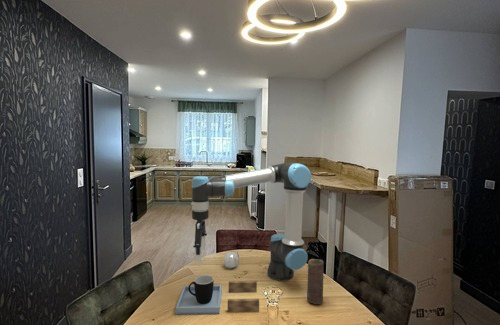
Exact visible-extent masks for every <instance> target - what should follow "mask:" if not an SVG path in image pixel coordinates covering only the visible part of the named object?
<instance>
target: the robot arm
mask: <svg viewBox="0 0 500 325" xmlns="http://www.w3.org/2000/svg"><path fill="white" fill-rule="evenodd" d="M311 181H312V175H311V171H310V169H309V167H307V166H306V165H304V164H302V163H297V162H290V161H289V162H282V163H278V164H274V165H269V166H268V167H267V168H262V169H261V168H260V169H257V170H250V171H245V172H238V173H233V174H232V173H231V174H226V175H220V176H211V177H208V176H205V175H204V176H203V175H202V176H201V175H199V176H198V175H197V176H193V177H192V179H191V202H190V205H191V209H192V211H191V219H192V220H194V221H196V222H195V224H194V225H195V227H194V228H195V230H194V231H195V232H194V245H193V246H192V247H193V248H194V261H195V262H196V263H197V262H202V257H203V255H202V254H203V252H202V251H203V250H206V236H208V233H207V231H206V221H205V220H208V218H209V198H211V197H229V196H233V195H234V194H235V189H238V188H243V187H244V188H245V187H248V186H250V187H251V186H256V185H259V184H267V183H271V184H275V183H282V184H283V191H285V192H286V194H285V195H286V196H285V217H284V218H285V219H284V220H285V222H284V224H285V225H284V233H275V234H273V235H271V236H270V260H269V264H268V266H267V270H266V272H267V277H269V278H270V279H272V280H275V281H288V280H291V279H293V278H294V276H295V271H299V270H301V269H302V268H303V267H304V266H305V265H306V264H307V263H308V259H309V258H308V257H309V256H308V253H307V251H306V250H305V241H304V240H303V239H302V235H303V229H302V228H303V208H304V203H303V202H304V193H305V192H307V187H308V185H309V184H310V183H311Z"/></svg>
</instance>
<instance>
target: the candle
mask: <svg viewBox="0 0 500 325" xmlns="http://www.w3.org/2000/svg"><path fill="white" fill-rule="evenodd" d="M324 263H325V262H324V261H323V260H322V259H319V258H317V259H315V258H311V259H310V258H309V260H307V283H306V284H307V286H306V287H307V289H306V291H307V292H306V299H307V300H306V301H308V302H310V303H311V304H313V305H314V304H315V305H318V304H319V305H320V304H323V301H324Z"/></svg>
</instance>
